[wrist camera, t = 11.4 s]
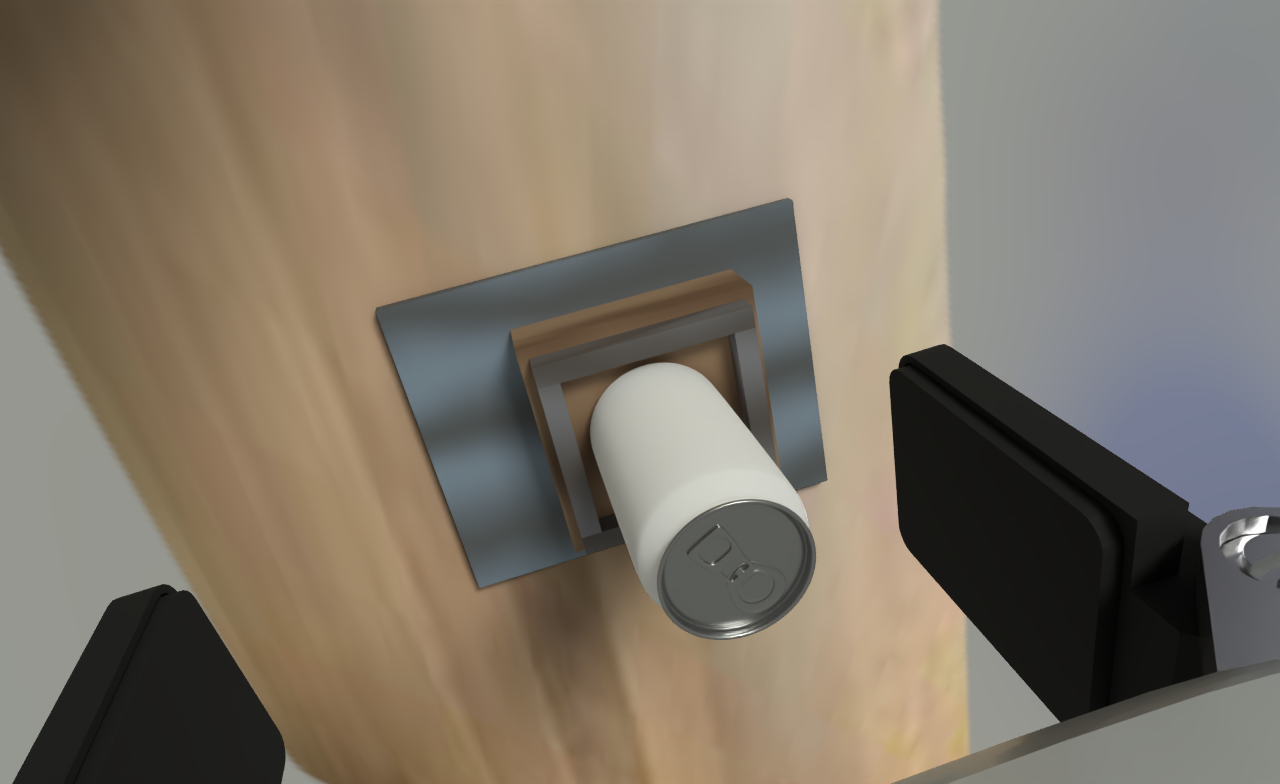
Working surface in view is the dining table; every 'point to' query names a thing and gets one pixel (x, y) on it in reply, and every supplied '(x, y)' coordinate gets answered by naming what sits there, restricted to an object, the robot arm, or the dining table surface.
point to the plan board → (498, 403)
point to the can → (700, 504)
